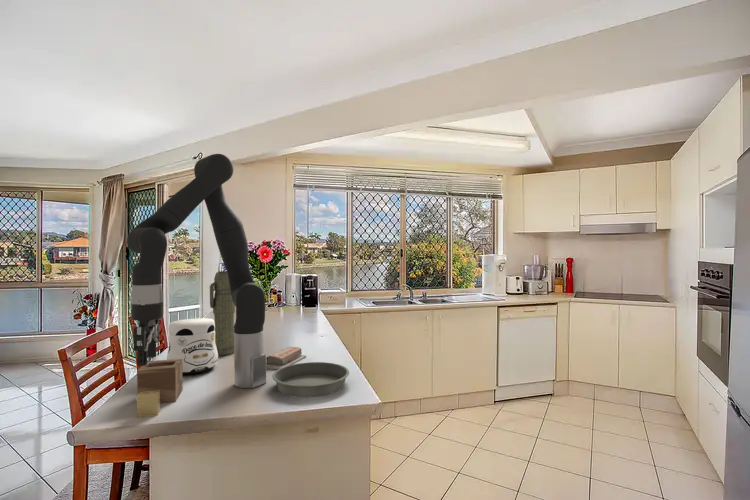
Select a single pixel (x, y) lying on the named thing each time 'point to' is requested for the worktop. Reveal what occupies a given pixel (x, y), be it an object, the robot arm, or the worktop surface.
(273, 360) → the packaged product
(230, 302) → the thermos
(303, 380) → the cake pan
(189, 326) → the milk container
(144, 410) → the token
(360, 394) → the worktop surface
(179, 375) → the brown wooden box
